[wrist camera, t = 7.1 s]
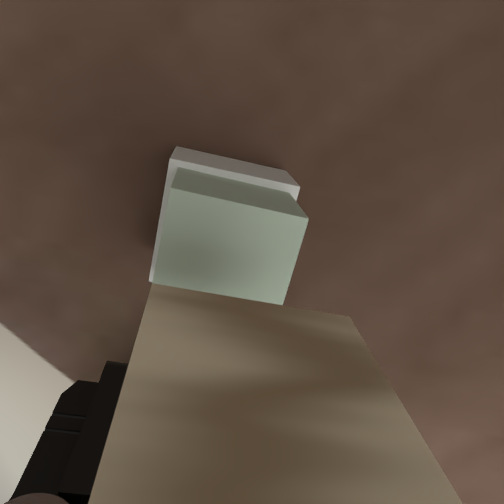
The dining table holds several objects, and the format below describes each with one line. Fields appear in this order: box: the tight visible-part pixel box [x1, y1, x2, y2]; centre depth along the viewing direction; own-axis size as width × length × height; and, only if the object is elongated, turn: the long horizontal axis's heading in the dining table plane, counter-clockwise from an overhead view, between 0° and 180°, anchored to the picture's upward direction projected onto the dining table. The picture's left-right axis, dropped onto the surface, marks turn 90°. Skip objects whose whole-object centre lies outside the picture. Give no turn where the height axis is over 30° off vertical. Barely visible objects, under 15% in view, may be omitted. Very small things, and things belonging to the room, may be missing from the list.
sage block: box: [152, 167, 309, 305], centre depth 22 cm, size 6×6×5 cm
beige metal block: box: [88, 283, 462, 504], centre depth 9 cm, size 5×5×6 cm
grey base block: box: [149, 146, 300, 282], centre depth 27 cm, size 7×7×5 cm
